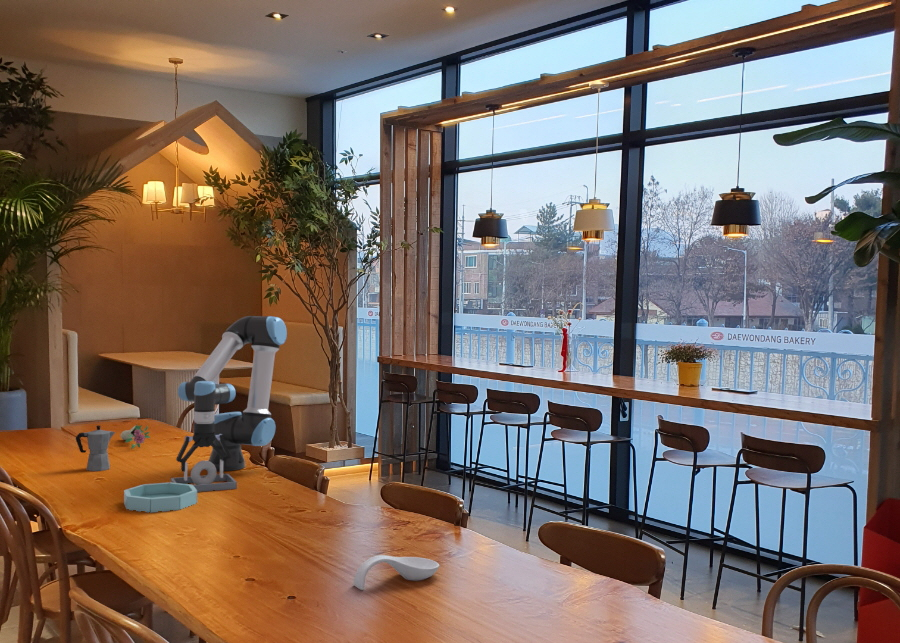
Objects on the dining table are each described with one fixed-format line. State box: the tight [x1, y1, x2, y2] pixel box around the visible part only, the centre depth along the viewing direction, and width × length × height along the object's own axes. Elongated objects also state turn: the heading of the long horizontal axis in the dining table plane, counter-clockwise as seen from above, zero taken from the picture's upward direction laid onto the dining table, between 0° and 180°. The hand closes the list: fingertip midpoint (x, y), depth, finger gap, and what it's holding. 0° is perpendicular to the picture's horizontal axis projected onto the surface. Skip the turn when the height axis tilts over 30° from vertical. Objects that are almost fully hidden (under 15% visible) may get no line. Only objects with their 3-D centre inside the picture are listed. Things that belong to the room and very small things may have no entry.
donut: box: [190, 460, 218, 485], centre depth 314 cm, size 10×4×10 cm, turn 130°
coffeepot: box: [75, 425, 116, 472], centre depth 340 cm, size 15×9×18 cm, turn 129°
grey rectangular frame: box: [170, 473, 238, 493], centre depth 314 cm, size 22×16×2 cm
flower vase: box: [120, 423, 151, 450], centre depth 394 cm, size 12×12×35 cm
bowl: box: [123, 481, 198, 513], centre depth 288 cm, size 23×23×4 cm
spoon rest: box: [352, 554, 440, 591], centre depth 215 cm, size 24×12×7 cm, turn 126°
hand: (203, 478), depth 314 cm, fingers open, 12 cm apart
